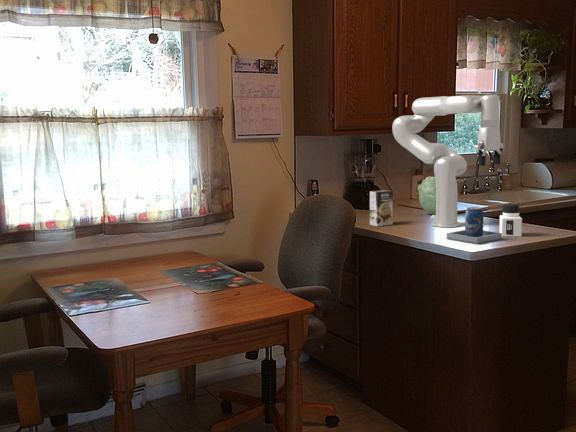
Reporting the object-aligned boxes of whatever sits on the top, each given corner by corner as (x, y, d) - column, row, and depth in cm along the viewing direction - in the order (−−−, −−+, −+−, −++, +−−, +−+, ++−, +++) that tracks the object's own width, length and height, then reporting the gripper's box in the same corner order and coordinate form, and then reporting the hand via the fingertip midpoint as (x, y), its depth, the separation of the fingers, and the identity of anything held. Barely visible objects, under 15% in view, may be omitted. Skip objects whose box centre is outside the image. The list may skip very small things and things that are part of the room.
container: (521, 236, 250) (522, 204, 248) (501, 236, 251) (502, 205, 250) (518, 233, 257) (519, 202, 255) (499, 233, 259) (499, 202, 257)
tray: (446, 239, 250) (446, 233, 249) (471, 234, 258) (471, 228, 258) (477, 244, 237) (477, 238, 237) (501, 239, 246) (501, 233, 245)
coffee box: (377, 226, 286) (377, 192, 283) (369, 224, 291) (368, 190, 289) (393, 224, 290) (393, 190, 287) (385, 222, 295) (384, 189, 293)
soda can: (464, 238, 246) (464, 209, 244) (465, 235, 252) (466, 206, 251) (482, 239, 243) (482, 209, 242) (483, 236, 250) (484, 207, 248)
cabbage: (454, 217, 304) (454, 177, 301) (415, 216, 310) (415, 177, 307) (456, 213, 318) (457, 174, 315) (419, 212, 325) (419, 174, 322)
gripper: (495, 124, 269) (494, 163, 272) (469, 125, 260) (468, 165, 262) (510, 123, 263) (509, 163, 266) (484, 124, 254) (483, 166, 256)
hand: (489, 164), depth 264 cm, fingers open, 9 cm apart
